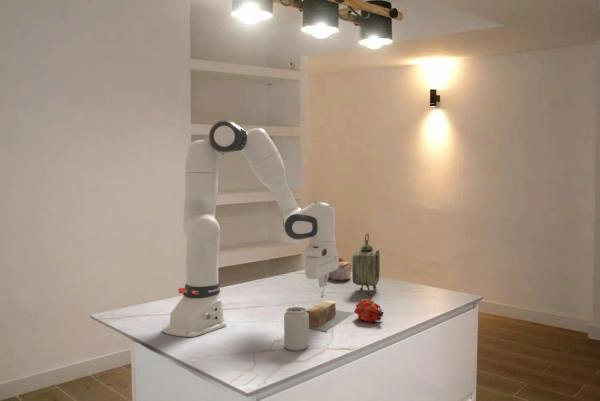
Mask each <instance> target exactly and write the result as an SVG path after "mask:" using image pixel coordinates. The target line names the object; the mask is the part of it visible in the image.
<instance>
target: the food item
mask: <svg viewBox="0 0 600 401" xmlns="http://www.w3.org/2000/svg"><path fill="white" fill-rule="evenodd" d="M351 274H352V262H345V261H344V259H342V258H341V257H340V258H339V267H338V269H337V270H334V271H332V272H330V273H329V277H328V279H331V280H337V281H341V282H344V281H349V280H351Z"/></svg>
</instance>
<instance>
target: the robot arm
mask: <svg viewBox="0 0 600 401" xmlns="http://www.w3.org/2000/svg"><path fill="white" fill-rule="evenodd" d="M234 152H240V153H241V154H242V155H243V156H244V157H245V159H246V161H247V163H248V165H249V166H250V169H251V170H252V173H253V174H254V175H255V177H256V179H258V180H259V182H260V183H261V184H263V186H265V187H266V188H267V189H269V191H270V193H271V194H272V195H273V198H274V199H275V202H276V203H277V204H278V207H279V208H280V212H281V214H282V223H283V228H284V232H285V233H286V235H287V236H288V237H289V238H290V239H291V240H292V239H293V240H305V239H308V238H310V243H309V244H308V246H307V247H306V248H305V249H304V252H303V253H304V257H305V259H304V260H305V261H304V272H305V276H306V278H307V279H309V280H317V281H318V287H319V288H325V287H327V286H328V280H329V278H328V277H329V273H330V272H332V271H334V270H337V269H338V267H339V251H338V250H337V247H336V246H337V244H336V243H337V242H336V236H335V232H336V212H335V208H334V207H333V206H332V205H331V204H330V203H327V202H322V201H313V202H312V203H311V204H309V205H308V206H306V207H304V208H301V206H299V204H298V203H297V201H296V199H295V197H294V195H293V194H292V191H291V189H290V187H289V185H288V181H287V176H286V175H287V174H286V168H285V164H284V161H283V158H282V155H281V154H280V152H279V149H278V148H277V146H276V144H275V143H274V142H273V140H272V138H271V137H270V135H269V134H268V133H267V132H266V130H265V129H263V128H260V127H253V128H250V129H247V130H246V129H245V130H244V128H242V127H241V126H240V125H238V124H237V123H236V122H234V121H232V120H226V119H225V120H219V121H217V122H216V123H214V124H213V125H212V126H211V128H210V130H209V133H208V137H207V138H205V139H197V140H194V141H192V142H191V143H190V144H189V145H188V147H187V152H186V158H185V177H184V178H185V183H184V184H185V185H184V186H185V187H184V191H185V192H184V193H185V195H184V204H183V224H182V225H183V227H182V228H183V231H184V234H185V235H186V255H185V256H186V259H185V276H186V277H185V278H186V282H185V285H184V287H179V288H177V292H178V294H182V295H183V296H182V298H181V299H179V301H178V303H177V304H176V306H175V307H174V308H173V309H172V310H171V311H170V315H169V324H167V325H166V326H164V327H163V328H162V332H163V333H165V334H167V335H172V336H176V337H185V338H186V337H190V338H192V337H198V336H200V335H204V334H206V333H209V332H214V331H215V330H219V329H221V328H224V327H227V322H226V321H225V318H224V311H223V310H224V308H223V303H222V300H221V297H220V293H221V284H220V281H219V255H220V254H219V253H220V242H221V241H220V240H221V228H220V227H221V226H220V224H219V222H218V220H217V219H216V209H217V201H218V196H219V194H218V193H219V192H218V191H219V190H218V189H219V188H218V187H219V160H220V156H221V155H225V154H231V153H234Z"/></svg>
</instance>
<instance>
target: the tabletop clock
mask: <svg viewBox="0 0 600 401" xmlns="http://www.w3.org/2000/svg"><path fill="white" fill-rule="evenodd" d="M369 240H370V235H369V233H366V234H365V236H364V244H362V246H361V247H360V249H358V250H356V251H355V252H354V253H353V254H352V262H351V274H352V283H353V284H355V285H357V286H361V287H360V288H359V291H360V293H361V292H363V291H364V286H365V287H366V288H367V291H368V293H367V294H368V296H371V295H373V293H372V291H371V290H370V287H372V289H373V290H376V289H377V285H378V283H379V281H380V264H381V262H380V258H381V257H380V250H379V249H374V248H373V246H372V245H371V244H369Z"/></svg>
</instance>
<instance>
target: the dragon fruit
mask: <svg viewBox="0 0 600 401" xmlns="http://www.w3.org/2000/svg"><path fill="white" fill-rule="evenodd" d="M355 306H356V308H355V310H354V311H353V314H356V315H357V318H358V320H359V322H362V321H364V322H366V323H367V324H369V323H370V324H376V323H375V322H377V321H378V322H381V320H382V318H383V317H384V316H383V315H384V311H383V309H382V308H381V306H380V305H378V304H377V303H375V302H374V301H373V300H372V299H368V298H364V299H361V300H360V301H359V302H358V303H357V304H356V305H355Z"/></svg>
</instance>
